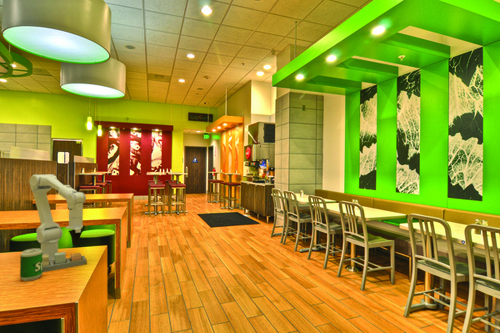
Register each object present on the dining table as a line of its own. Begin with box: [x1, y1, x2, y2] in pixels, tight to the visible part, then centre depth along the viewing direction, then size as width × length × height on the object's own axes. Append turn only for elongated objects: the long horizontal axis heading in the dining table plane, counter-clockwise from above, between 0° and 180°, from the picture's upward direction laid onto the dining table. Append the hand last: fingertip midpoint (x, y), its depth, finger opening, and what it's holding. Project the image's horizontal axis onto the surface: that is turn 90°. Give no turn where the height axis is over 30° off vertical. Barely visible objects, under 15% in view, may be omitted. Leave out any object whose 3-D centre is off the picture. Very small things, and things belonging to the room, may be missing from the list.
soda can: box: [19, 247, 43, 282], centre depth 119 cm, size 8×8×12 cm
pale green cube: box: [54, 251, 67, 264], centre depth 133 cm, size 4×4×4 cm
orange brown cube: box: [70, 252, 82, 262], centre depth 137 cm, size 4×4×4 cm
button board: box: [42, 255, 88, 273], centre depth 133 cm, size 8×21×2 cm, turn 130°
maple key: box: [43, 255, 49, 266], centre depth 129 cm, size 4×4×4 cm
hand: (75, 244), depth 137 cm, fingers closed
